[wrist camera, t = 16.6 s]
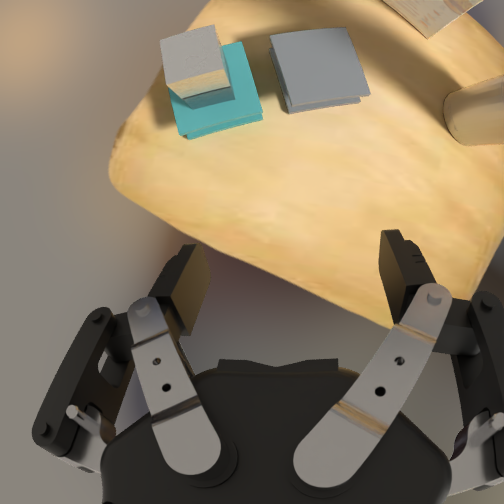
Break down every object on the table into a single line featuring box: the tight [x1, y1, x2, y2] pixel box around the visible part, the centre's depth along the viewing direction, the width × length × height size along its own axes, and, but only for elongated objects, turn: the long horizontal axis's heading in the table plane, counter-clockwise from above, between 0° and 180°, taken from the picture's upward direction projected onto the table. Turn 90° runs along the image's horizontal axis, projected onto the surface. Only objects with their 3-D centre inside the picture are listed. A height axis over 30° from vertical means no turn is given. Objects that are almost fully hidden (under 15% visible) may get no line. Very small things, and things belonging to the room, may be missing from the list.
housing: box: [160, 25, 236, 110], centre depth 24 cm, size 5×5×10 cm
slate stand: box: [269, 27, 371, 114], centre depth 30 cm, size 10×10×5 cm
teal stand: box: [168, 41, 263, 140], centre depth 31 cm, size 10×10×5 cm
